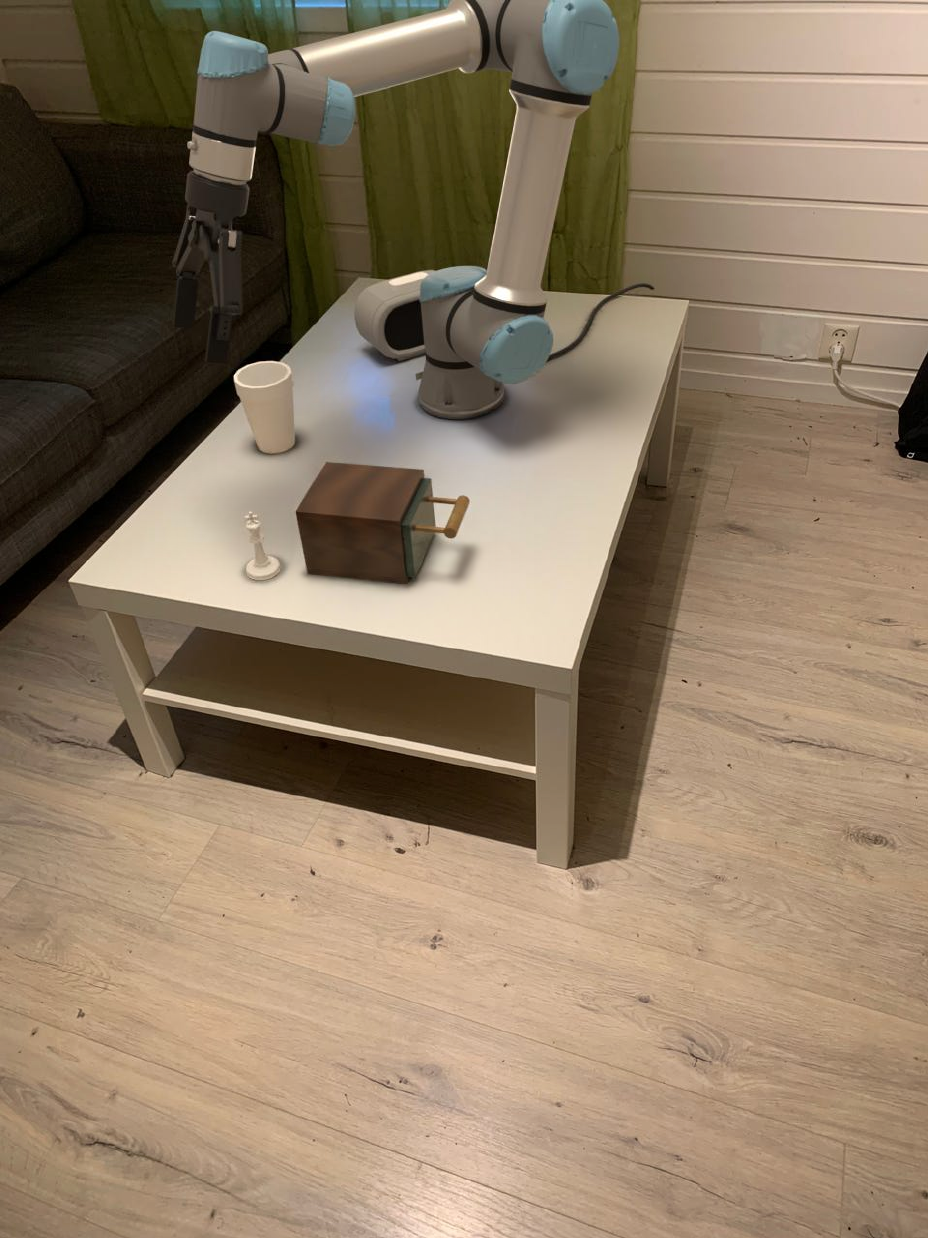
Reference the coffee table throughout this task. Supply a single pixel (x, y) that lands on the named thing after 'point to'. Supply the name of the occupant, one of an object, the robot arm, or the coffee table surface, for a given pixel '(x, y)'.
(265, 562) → the chess piece
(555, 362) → the coffee table surface
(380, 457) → the coffee table surface
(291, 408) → the foam cup
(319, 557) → the cabinet
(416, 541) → the drawer
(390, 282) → the alarm clock
